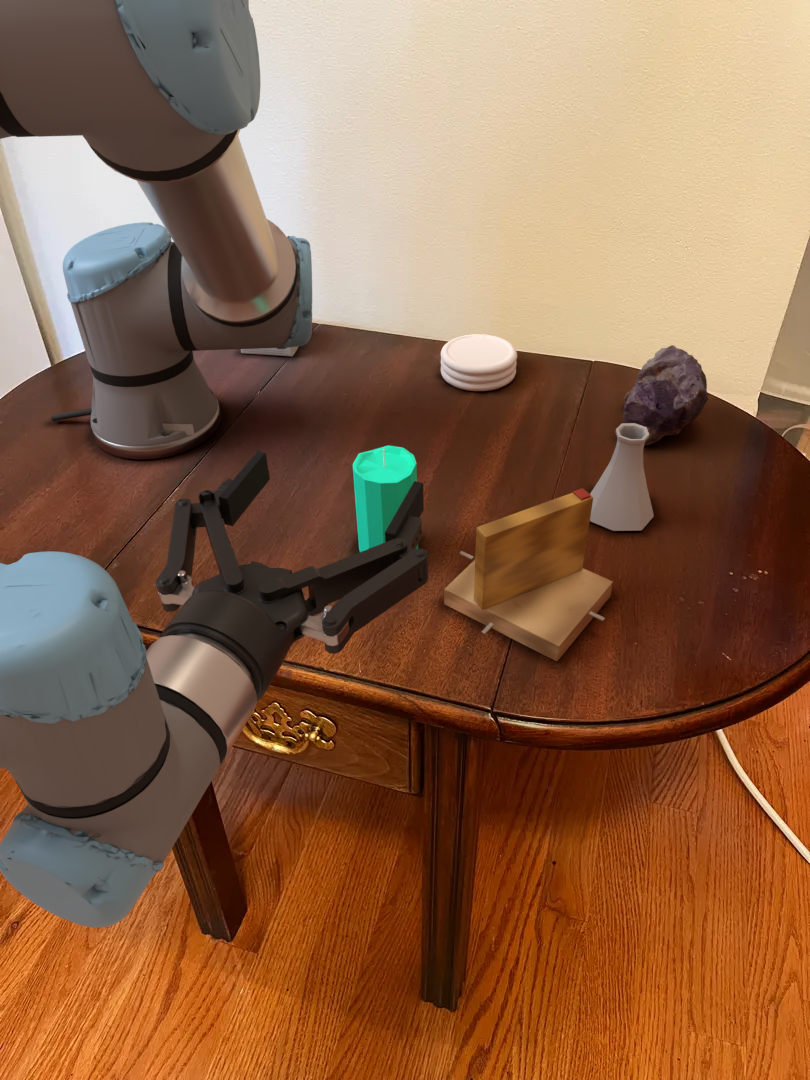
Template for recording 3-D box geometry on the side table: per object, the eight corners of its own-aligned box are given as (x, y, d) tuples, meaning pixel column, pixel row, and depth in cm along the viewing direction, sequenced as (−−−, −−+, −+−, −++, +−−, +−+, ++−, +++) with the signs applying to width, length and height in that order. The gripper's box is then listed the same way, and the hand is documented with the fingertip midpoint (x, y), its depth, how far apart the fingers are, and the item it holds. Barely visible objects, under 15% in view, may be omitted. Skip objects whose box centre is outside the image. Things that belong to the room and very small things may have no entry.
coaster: (435, 358, 115) (435, 335, 112) (507, 353, 115) (508, 329, 113) (446, 395, 107) (446, 371, 105) (523, 390, 108) (525, 365, 105)
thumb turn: (482, 610, 74) (485, 534, 69) (473, 599, 76) (476, 524, 70) (582, 569, 78) (593, 495, 73) (572, 560, 79) (583, 486, 74)
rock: (605, 448, 99) (692, 465, 96) (610, 391, 93) (703, 406, 89) (629, 389, 106) (711, 402, 103) (635, 331, 100) (723, 344, 96)
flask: (657, 498, 90) (674, 418, 83) (649, 539, 84) (667, 457, 78) (589, 486, 92) (601, 407, 85) (577, 526, 86) (589, 445, 80)
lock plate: (413, 613, 77) (413, 596, 76) (502, 528, 86) (503, 512, 85) (558, 689, 70) (560, 672, 69) (638, 588, 79) (642, 571, 78)
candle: (420, 531, 86) (419, 432, 79) (415, 570, 82) (413, 469, 74) (363, 528, 87) (355, 430, 79) (354, 567, 82) (346, 466, 75)
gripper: (59, 664, 58) (211, 488, 73) (396, 761, 52) (486, 546, 67) (25, 586, 53) (195, 415, 68) (392, 682, 47) (491, 469, 62)
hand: (339, 479), depth 68 cm, fingers open, 13 cm apart
